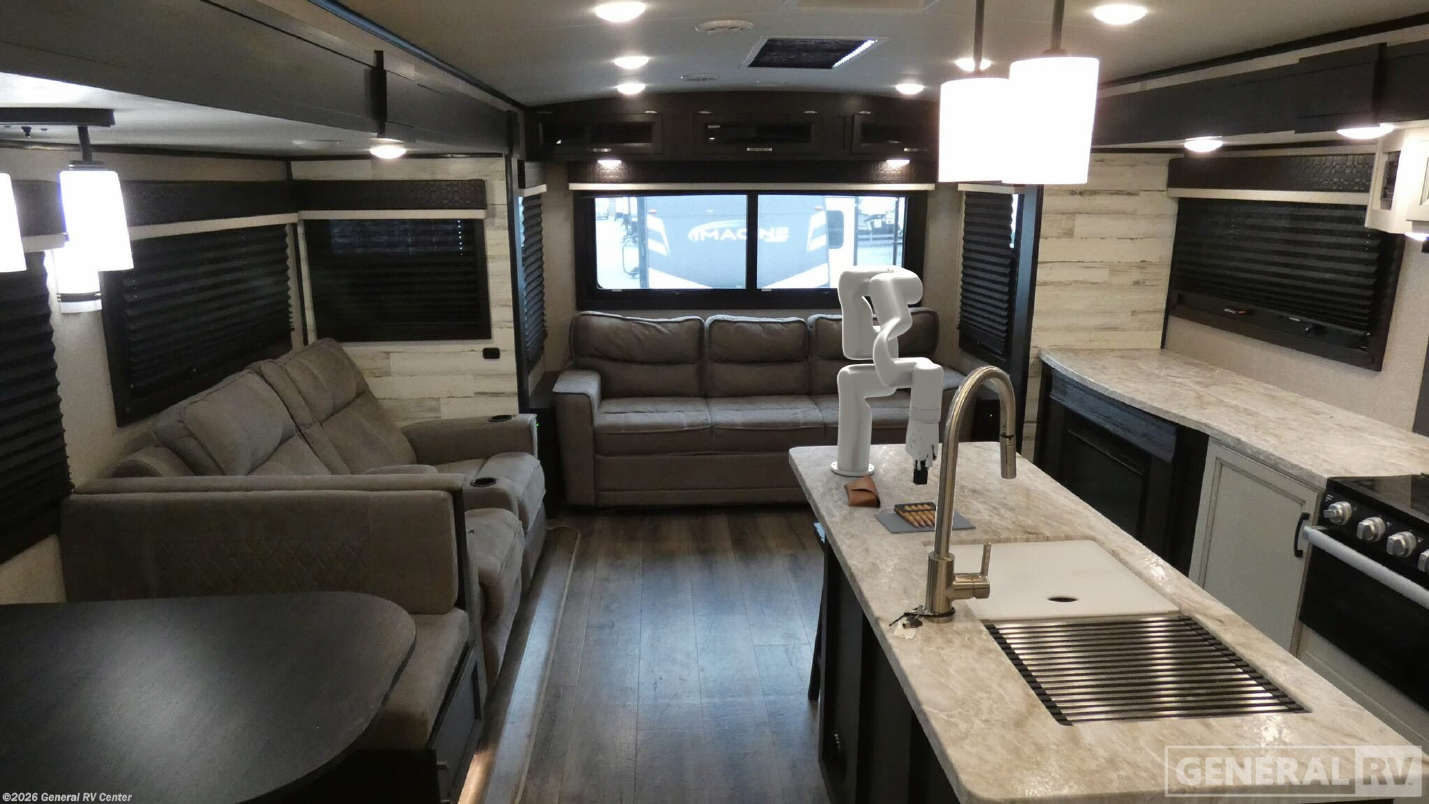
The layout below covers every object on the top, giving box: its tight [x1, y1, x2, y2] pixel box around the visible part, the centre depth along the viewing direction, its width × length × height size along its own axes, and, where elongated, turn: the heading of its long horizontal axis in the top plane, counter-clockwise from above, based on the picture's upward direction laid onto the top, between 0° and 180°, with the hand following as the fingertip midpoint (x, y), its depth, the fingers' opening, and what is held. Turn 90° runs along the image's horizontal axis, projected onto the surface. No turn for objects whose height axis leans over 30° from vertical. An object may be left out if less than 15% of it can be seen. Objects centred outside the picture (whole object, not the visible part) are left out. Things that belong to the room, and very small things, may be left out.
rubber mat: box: [873, 509, 977, 534], centre depth 224 cm, size 12×22×1 cm, turn 101°
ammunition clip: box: [893, 501, 937, 527], centre depth 225 cm, size 11×2×12 cm
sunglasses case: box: [843, 474, 882, 509], centre depth 242 cm, size 18×7×7 cm
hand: (919, 483), depth 226 cm, fingers closed
